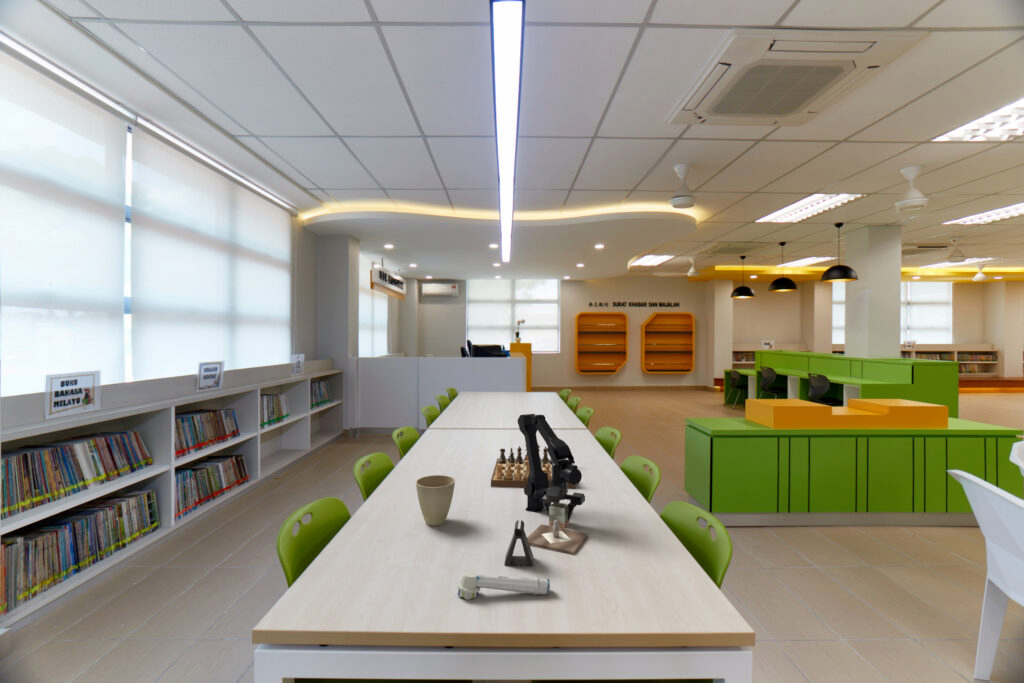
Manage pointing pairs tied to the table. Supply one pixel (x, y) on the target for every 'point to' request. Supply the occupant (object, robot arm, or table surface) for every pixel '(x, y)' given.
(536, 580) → the toothbrush head
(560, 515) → the sleeve
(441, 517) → the plant pot
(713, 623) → the table surface
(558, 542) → the pin board
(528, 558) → the phone stand
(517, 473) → the chess set
